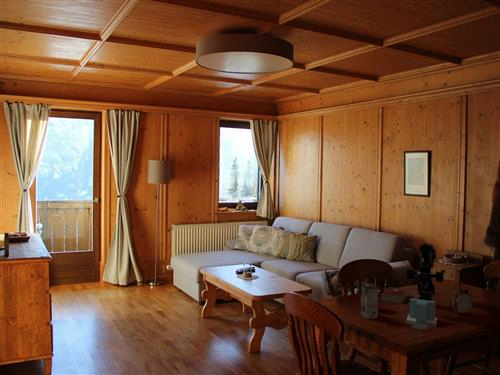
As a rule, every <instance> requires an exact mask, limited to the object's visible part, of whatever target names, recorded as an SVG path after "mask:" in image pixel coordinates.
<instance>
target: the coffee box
mask: <svg viewBox="0 0 500 375" xmlns="http://www.w3.org/2000/svg"><path fill="white" fill-rule="evenodd" d="M378 290H379V287H378V286H377V285H375V283H373V282H371V283H369V282H362V283H360V314H361V316H363V317H364V318H365V319H378V316H379V315H378V312H379V310H378V309H379V300H378Z"/></svg>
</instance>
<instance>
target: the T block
mask: <svg viewBox="0 0 500 375" xmlns="http://www.w3.org/2000/svg"><path fill="white" fill-rule="evenodd" d="M408 315H409V317H410V318H416V322H421V323H426V320H433V321H435V318H436V300H435V301H434V300H432V301H427V300H419V298H418V299H417V298H410V299H409V314H408Z"/></svg>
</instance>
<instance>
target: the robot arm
mask: <svg viewBox="0 0 500 375" xmlns="http://www.w3.org/2000/svg"><path fill="white" fill-rule="evenodd" d="M418 253H419V255H420V259H419V260H420V261H419V266H418V271H416V272H415V269H412V268H407V269H406V270H405V271H406V272H405V274H406V276H405V278H406V279H409V280H413V279H415V277H416V278H417V281H418V282H417V294H418V300H427V301H433V296H434V295H436V286H435V284H434V283H433V278H435V281H436V282H438V283H439V282H440V283H444V279H445V277H444V276H445V275H444V274H445V273H444V272H443V271H435V273H432V269H434V264H435V263H436V260H437V250H436V249H435V247H434V244H432V243H424V244H421V245H420V246H419V248H418Z"/></svg>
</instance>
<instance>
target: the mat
mask: <svg viewBox="0 0 500 375" xmlns="http://www.w3.org/2000/svg"><path fill="white" fill-rule="evenodd" d="M437 320H438V318H437V317H435V321H433V320H426V323H421V322H416V318H410V317H409V314H408V315H407V317H406V320H405V323H406V324H410V325H411V324H412V329H413V328H414V329H419V330H420V329H421V330H427V329H428V327H434V328H437Z"/></svg>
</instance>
